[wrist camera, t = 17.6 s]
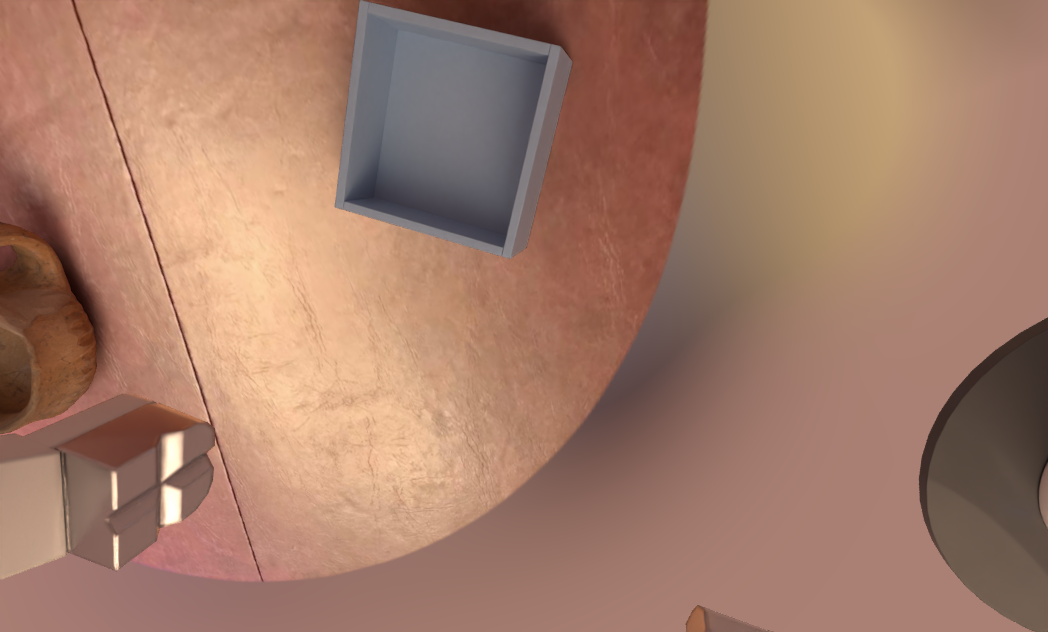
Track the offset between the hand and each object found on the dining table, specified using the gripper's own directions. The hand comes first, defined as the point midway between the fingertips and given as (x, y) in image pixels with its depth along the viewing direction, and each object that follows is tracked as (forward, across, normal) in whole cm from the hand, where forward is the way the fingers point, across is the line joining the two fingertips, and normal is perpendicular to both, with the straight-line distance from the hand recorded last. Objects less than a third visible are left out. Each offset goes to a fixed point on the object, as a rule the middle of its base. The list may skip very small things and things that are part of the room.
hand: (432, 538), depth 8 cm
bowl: (+29, +46, +19) cm, 58 cm away
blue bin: (+29, +11, -5) cm, 31 cm away
